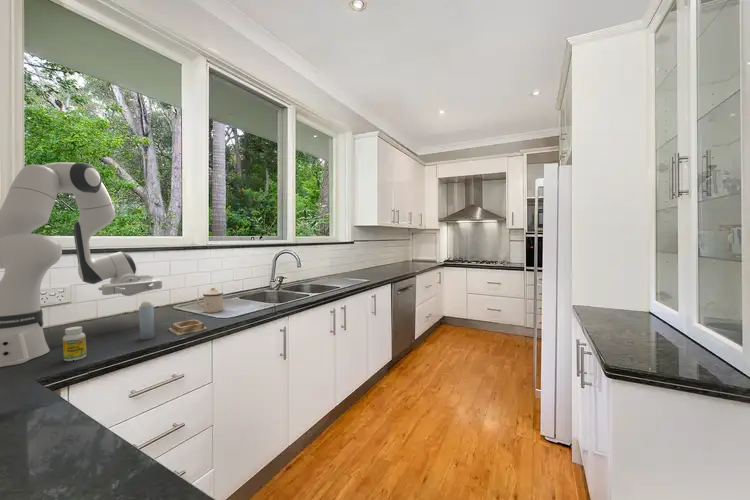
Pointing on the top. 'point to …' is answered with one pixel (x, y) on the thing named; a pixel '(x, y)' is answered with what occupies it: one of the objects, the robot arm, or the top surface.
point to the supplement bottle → (74, 344)
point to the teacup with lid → (212, 301)
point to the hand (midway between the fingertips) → (137, 289)
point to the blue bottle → (146, 320)
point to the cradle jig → (187, 327)
